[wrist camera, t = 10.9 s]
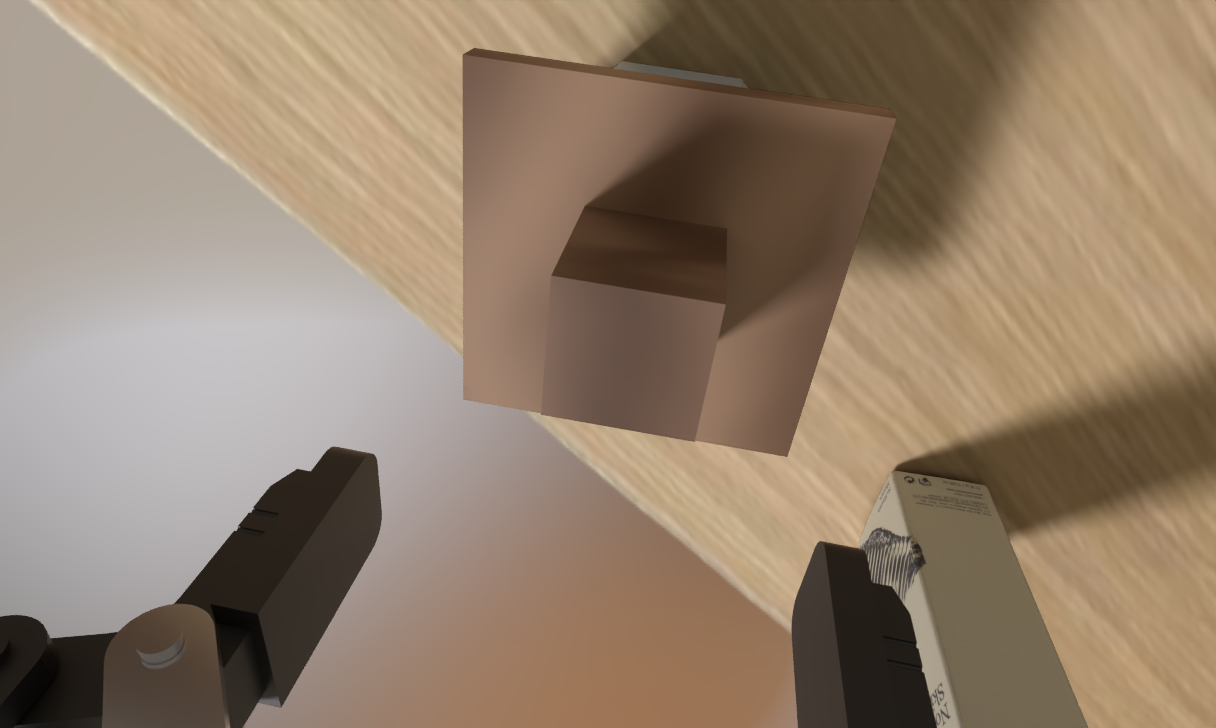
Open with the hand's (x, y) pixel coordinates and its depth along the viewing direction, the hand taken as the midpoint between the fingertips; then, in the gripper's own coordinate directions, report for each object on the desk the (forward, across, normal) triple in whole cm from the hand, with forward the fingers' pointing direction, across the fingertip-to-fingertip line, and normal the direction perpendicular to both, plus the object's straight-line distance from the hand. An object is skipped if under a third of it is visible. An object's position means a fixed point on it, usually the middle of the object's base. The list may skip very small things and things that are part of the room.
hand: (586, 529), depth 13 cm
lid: (+11, 0, 0) cm, 11 cm away
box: (+17, -14, +13) cm, 26 cm away
